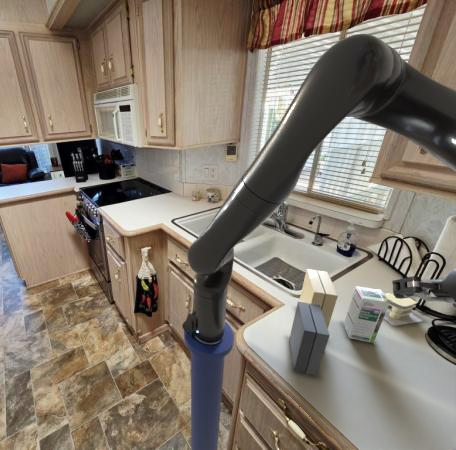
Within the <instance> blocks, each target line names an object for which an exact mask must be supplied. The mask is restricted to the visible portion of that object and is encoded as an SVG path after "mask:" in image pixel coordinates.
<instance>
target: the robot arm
mask: <svg viewBox="0 0 456 450" xmlns="http://www.w3.org/2000/svg"><path fill="white" fill-rule="evenodd" d="M345 119H355V120H358V121H362V122H365V123H368V124H371V125H374V126H376V127H380V128H383V129H386V130H388V131H390V132H392V133H394V134H397V135H399V136H401V137H403V138H405V139H406V140H408V141H410V142H412V144H415V145H417V146H418V147H419V148H421V149H422V150H424V151H425V152H427V153H428V154H430V155H431V156H432V157H434V158H435V159H436V160H438V161H439V162H441V163H442V164H443V165H445V166H446V167H447V168H449V169H451V170H452V171H453V172H455V173H456V89H455V88H452V87H449V86H447V85H445V84H442V83H440V82H438V81H437V80H435V79H433V78H432V77H430V76H428V75H427V74H425V73H424V72H421V70H419V69H418V68H417V67H414V66H413V65H412V64H410V63H409V62H407V61H406V60H404V59H403V58H402V56H401V54H400V53H399V52H398V51H397V50H396V49H395V48H394V47H392V46H390V45H389V44H387V43H386V42H385V41H384V40H383V39H381V38H379V37H377V36H376V35H373V34H368V33H357V34H351V35H348V36H347V37H344V38H343V39H340V40H339V41H337V42H336V43H334V44H333V45H331V47H329V48H328V49H327V50H326V51H324V52H323V53H322V55H321V56H320V57H319V58H318V59H317V61H316V62H315V63H314V64H313V66H312V67H311V68H310V70H309V72H308V74H307V75H306V77H305V79H304V80H303V82H302V83H301V85H300V86H299V89H298V90H297V92H296V93H295V95H294V97H293V99H292V101H291V102H290V104H289V105H288V107H287V109H286V111H285V113H284V115H283V116H282V118H281V120H280V121H279V123H278V125H277V126H276V127H275V129H274V131H273V132H272V134H271V135H270V136H269V137H268V139H267V141H266V142H265V143H264V145H263V146H262V147H261V149H260V151H259V152H258V153H257V155H256V157H255V158H254V159H253V161H252V163H251V164H250V165H249V166H248V167H247V168H246V170H245V171H244V173H243V174H242V176H241V177H240V178H239V179H238V181H237V183H236V184H235V185H234V186H233V188H232V190H231V192H230V193H229V194H228V196H227V198H226V199H224V202H223V203H222V204H221V206H220V208H219V209H218V211H217V213H216V214H215V215H214V217H213V219H212V221H211V222H210V223H209V225H208V226H207V227H206V229H204V231H202V233H201V234H200V235H199V236H198V237H197V238H196V239H195V240H193V242H192V243H191V244H190V246H189V248H188V250H187V262H188V265H189V267H190V268H191V270H192V271H193V272H195V276H194V278H193V307H192V309H191V310H192V311H191V313H187V317H186V318H185V321H184V322H183V323H182V329H183V332H184V331H186V333H187V334H189V333H190V332H191V333H192V337H194V338H196V339H197V340H198V341H199V342H200V343H202V344H205V345H210V346H211V345H217V344H219V343H220V342H222V340H223V339H224V334H225V332H224V331H225V321H226V315H227V314H226V313H227V304H228V303H227V301H228V289H229V288H228V287H229V285H230V282H231V281H232V275H233V270H234V269H233V268H234V262H235V261H234V260H235V247H236V246H237V245H238V244H239V243H240V242H242V241H243V240H244V239H245V238H247V237H248V236H250V235H251V234H252V233H253V232H254V231H255V230H257V229H258V228H260V227H261V226H262V225H263V224H264V223H265V222H267V220H269V218H271V217H272V215H274V213H276V211H278V209H280V207H281V206H282V205H283V204H284V203H285V202H286V201H287V200H288V198H289V197H290V196H291V194H292V193H293V191H294V190H295V188H296V186H297V184H298V182H299V179H300V177H301V175H302V172H303V170H304V168H305V167H306V166H305V165H306V164H307V162H308V160H309V159H310V157H311V156H312V154H313V153H314V151H315V150H316V149H317V148H318V146H319V145H321V143H322V142H323V141H324V140H325V139H326V138H327V137H328V136H329V135H330V134H331V133H332V131H334V129H335V128H336V127H338V125H339V124H341V123H342V121H344V120H345ZM391 283H392V294H393V296H395V298H398V299H404V298H411V299H412V298H415V299H417V298H419V299H420V300H423V301H426V302H444V303H448V304H452V306H453V308H456V267H455V268H453V269H451V271H450V272H449V273H448V275H447V276H446V277H440V278H437V279H436V278H435V279H434V278H433V279H432V278H431V279H422V277H421V276H418V275H413V276H408V277H403V278H399V279H394V280H391ZM429 290H430V292H431V293H432V294H433V296H430V293H429Z"/></svg>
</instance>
